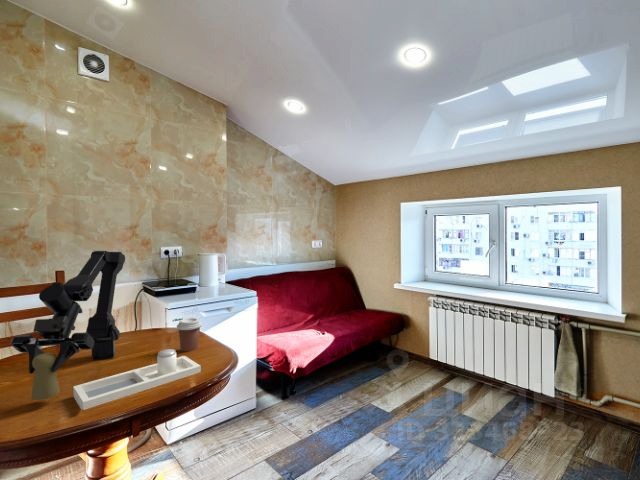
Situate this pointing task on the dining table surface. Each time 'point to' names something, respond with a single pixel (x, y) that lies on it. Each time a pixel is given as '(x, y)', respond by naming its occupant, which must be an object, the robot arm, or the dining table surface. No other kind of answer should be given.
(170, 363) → the salt shaker
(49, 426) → the dining table surface
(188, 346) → the coffee cup
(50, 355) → the olive pepper shaker
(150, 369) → the condiment rail
